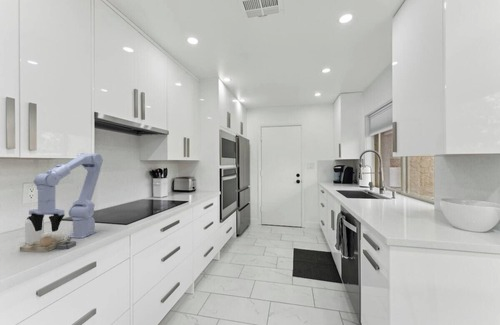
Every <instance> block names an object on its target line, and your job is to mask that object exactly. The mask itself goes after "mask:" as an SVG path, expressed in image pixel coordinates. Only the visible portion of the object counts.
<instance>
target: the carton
mask: <svg viewBox="0 0 500 325" xmlns="http://www.w3.org/2000/svg"><path fill="white" fill-rule="evenodd" d="M71 239H72V238H68V237H64V239H63V240H61V241H59V242H55V241H53V243H52V244H51V245H49V246H41V245H40V240H39V241H36V242H33V243H30V244H25V245H23V246H20V247H19V252H22V253H24V252H26V253H31V252H32V253H33V252H34V253H48V252H50V251H53V250H54V249H57V245H58V244H60V243H63V242H66V241H71Z"/></svg>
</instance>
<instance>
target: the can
mask: <svg viewBox="0 0 500 325" xmlns="http://www.w3.org/2000/svg"><path fill="white" fill-rule="evenodd" d="M43 233H45V218H43V222H42V230H40V231H35V228H34V226H33V224H32V222H31V221H30V219H29V218H28V217H26V219H25V221H24V243H25V245H28V244H30V243H33V242H36V241H39V240H41V239H40V236H41V235H42V234H43Z"/></svg>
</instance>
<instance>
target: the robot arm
mask: <svg viewBox="0 0 500 325" xmlns="http://www.w3.org/2000/svg"><path fill="white" fill-rule="evenodd" d="M103 161H104V159H103V157H102V155H101V154H100V153H98V152H97V153H94V152H92V153H88V152H87V153H85V152H82V153H80V154H78V155H76V157H75V158H72V159H71V160H70V161H69V162H67V163H66V164H56V165H55V167H54V168H52V169H50V170H49V169H48V170H46V172H45V173H39V174H37V175H36V176H35V178H34V179H33V184H34V185H35V186H36V189H37V209H29V210H28V215H29V216H28V217H27V218H29V219H30V221H31V222H32V224H33V226H34V228H35V231H40V230H42V222H43V219H45V215H47V216H48V219H49V221H50V224H51V233H52V232H53V233H54V232H57V231H58V230H59V227H60V224H61V222H62V220H63V219H64V217H65V210H64V209H58V208H56V186H58V185H59V183H60V181H61V180H62V179H63V178H66V177H67V176H69V175H70V174H71V171H72V170H74V169H76V168H77V167H80V166H81V167H82V168H83V169H84V170H86V171H87V173H86V176H85V179H84V182H83V185H82V187H81V188H82V189H81V191H80V194H79V196H78V199H77V200H76V201H74V202H73V203H72V205H71V207H70V208H69V210H68V216H69V217H70V218H71V220H72V235H69V236H68V237H67V238H71V239H77V238H78V239H83V238H86V237H88V236H91V235H92V234H95V233H96V232H97V231H95V228H96V227H95V226H96V225H95V224H96V221H95V218H94V217H93V215H94V213H95V203H93V202H92V199H93V195H94V192H95V189H96V186H97V183H98V179H99V176H100V173H101V169H102V164H103ZM49 215H50V216H49Z"/></svg>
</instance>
